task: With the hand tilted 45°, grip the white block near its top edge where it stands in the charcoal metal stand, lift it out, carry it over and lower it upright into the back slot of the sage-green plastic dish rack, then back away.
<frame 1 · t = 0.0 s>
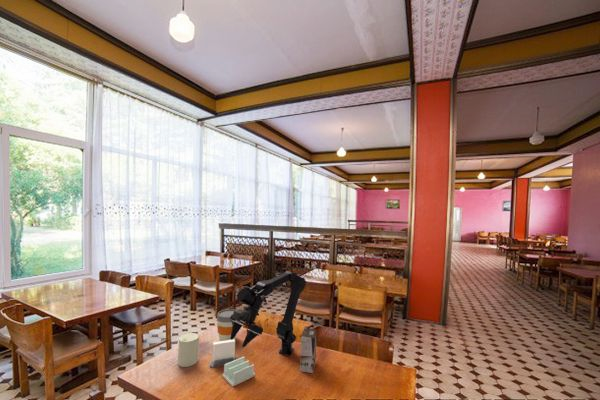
hand: (237, 343, 116), 15 cm above the table, tool tilted 35°, fingers open, 9 cm apart
can: (187, 361, 127), on the table
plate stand: (223, 362, 126), on the table
coffee box: (308, 367, 125), on the table
white block: (223, 362, 126), resting in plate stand
reusable coffee cup: (227, 340, 149), on the table
dish rack: (236, 373, 118), on the table
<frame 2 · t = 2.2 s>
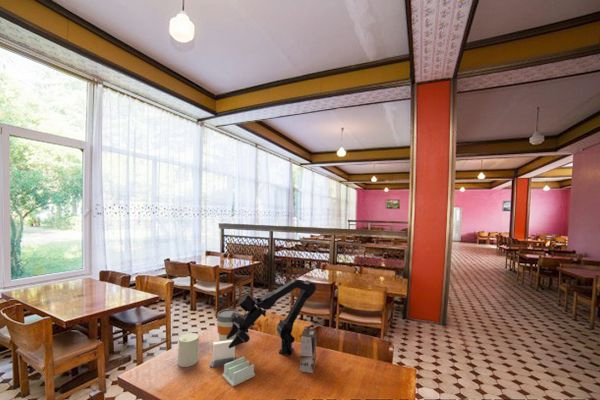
hand: (227, 342, 127), 9 cm above the table, tool tilted 45°, fingers open, 9 cm apart
nothing on the table moved.
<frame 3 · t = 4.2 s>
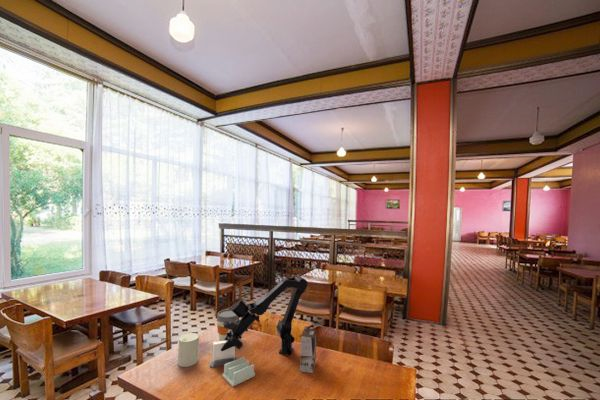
hand: (221, 349, 126), 7 cm above the table, tool tilted 45°, fingers closed on white block, 2 cm apart
white block: (223, 362, 126), resting in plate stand, touching gripper
everything else where it was.
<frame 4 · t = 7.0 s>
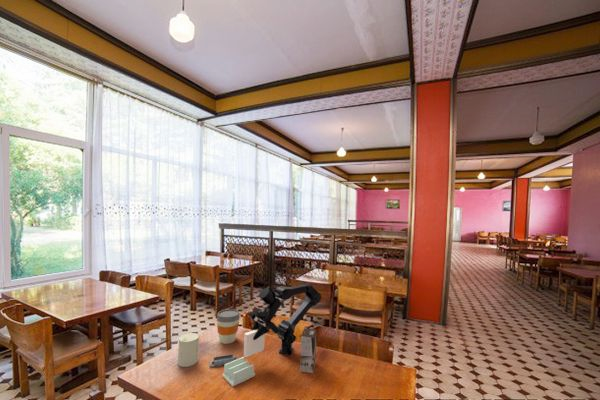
hand: (252, 338, 124), 13 cm above the table, tool tilted 45°, fingers closed on white block, 2 cm apart
white block: (254, 352, 124), point 6 cm above the table, touching gripper
everything else where it was.
when the fingers open (9 cm above the table, at t = 9.7 s): white block drops 1 cm, resting on dish rack.
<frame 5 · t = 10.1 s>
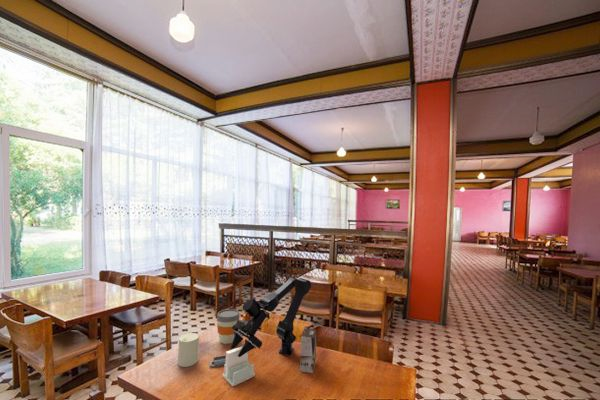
hand: (234, 353, 117), 10 cm above the table, tool tilted 45°, fingers open, 7 cm apart
white block: (236, 371, 118), point 1 cm above the table, touching dish rack
everything else where it was.
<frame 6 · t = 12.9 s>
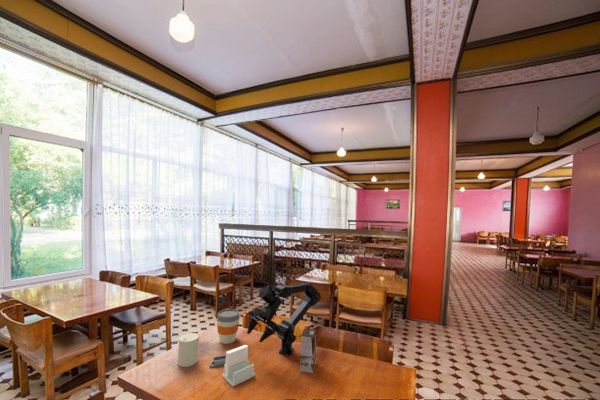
hand: (253, 337, 124), 13 cm above the table, tool tilted 40°, fingers open, 9 cm apart
nothing on the table moved.
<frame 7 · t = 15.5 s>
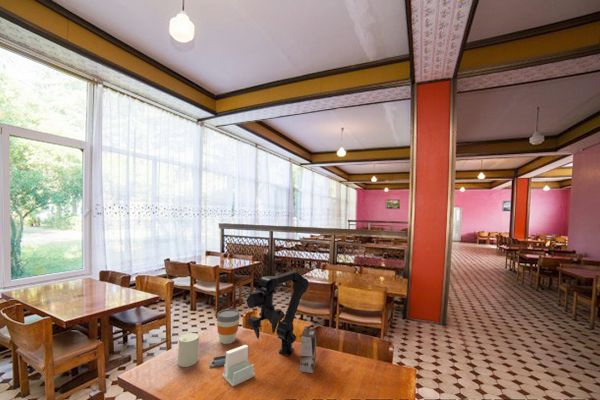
hand: (265, 335, 128), 13 cm above the table, tool pointing down, fingers open, 9 cm apart
nothing on the table moved.
at the end: white block 0.1 cm from the dish rack (horizontally); white block tilted 0°; white block point 1.0 cm above the table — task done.
